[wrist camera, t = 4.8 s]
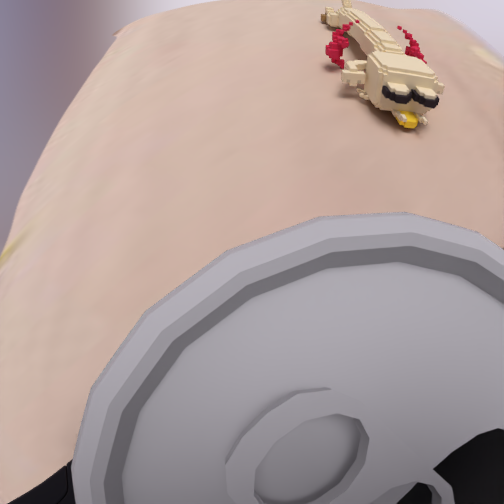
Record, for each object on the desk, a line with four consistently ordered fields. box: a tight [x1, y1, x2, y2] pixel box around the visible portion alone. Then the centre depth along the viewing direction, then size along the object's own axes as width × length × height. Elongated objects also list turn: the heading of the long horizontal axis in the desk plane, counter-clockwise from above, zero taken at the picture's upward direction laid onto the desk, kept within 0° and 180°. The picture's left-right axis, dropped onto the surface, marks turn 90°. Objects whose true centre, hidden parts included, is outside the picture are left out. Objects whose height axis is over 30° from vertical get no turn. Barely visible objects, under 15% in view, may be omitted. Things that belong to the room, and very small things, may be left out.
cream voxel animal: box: [321, 0, 444, 129], centre depth 22 cm, size 10×9×25 cm
